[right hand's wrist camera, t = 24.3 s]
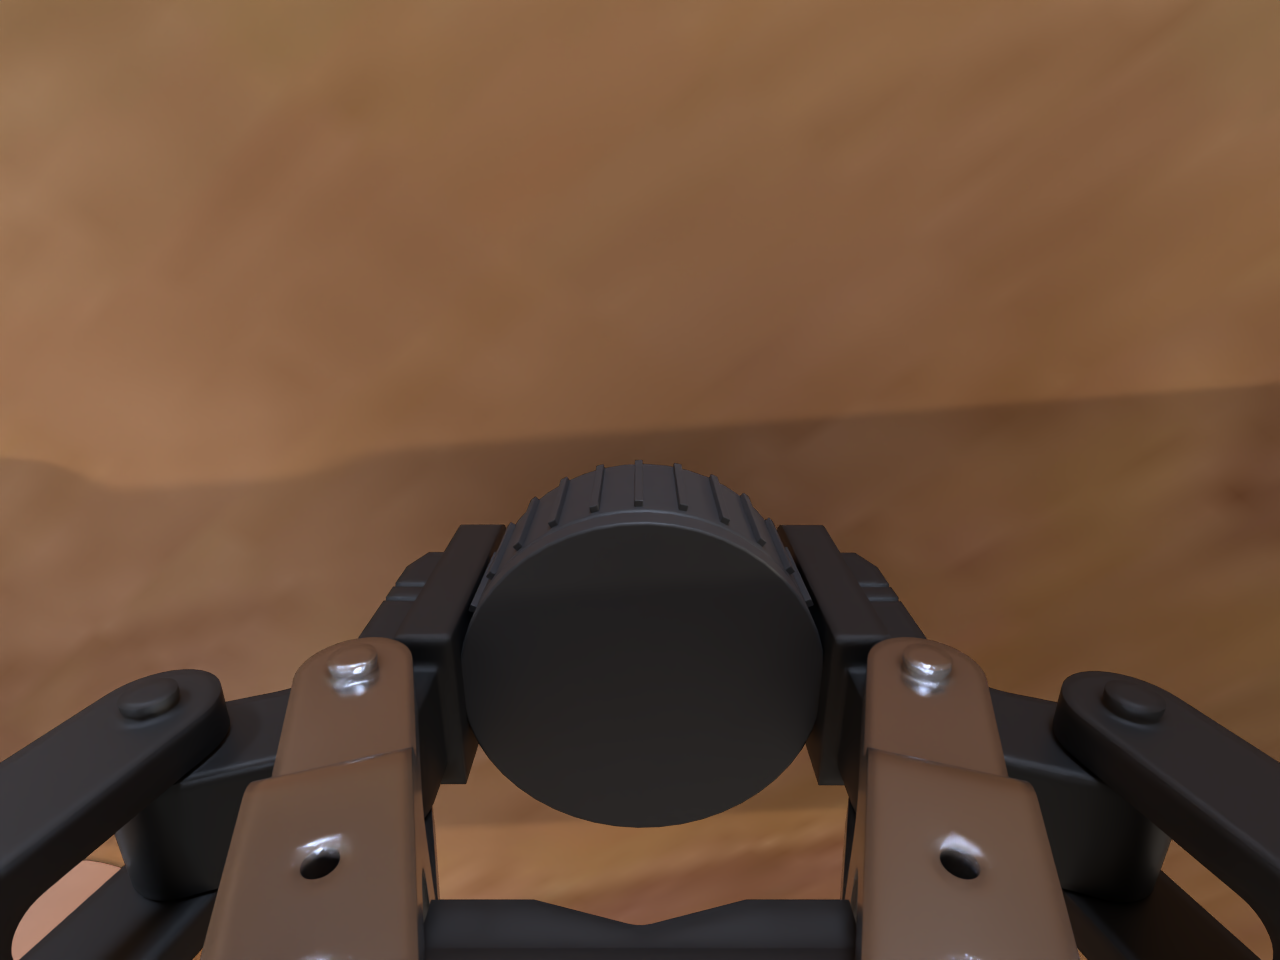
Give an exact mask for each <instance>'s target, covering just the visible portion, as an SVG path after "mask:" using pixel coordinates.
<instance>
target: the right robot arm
mask: <svg viewBox="0 0 1280 960" xmlns="http://www.w3.org/2000/svg"><path fill="white" fill-rule="evenodd" d="M505 531H506V527H505V525H460V527H459V528H458V530H457V531H456V533H455V535H454V536H453V538H452V540H451V541H450V543H449V545H448V546H447V548H446V550H445V551H444V552H429V553H427V554H426V555H424V556H422V557H421V558H419V559H418V560H416V561H415V562H413V563H412V564H410V565H409V566H407V567H406V569H405V570H404V572H403V573H402V575H401V576H400V577H399V579H398V580H397V582H396V586H395V587H393V588H392V589H391V591H390V592H389V594H388V595H387V597H386V601H383V602H382V604H381V605H380V607H379V608H378V610H377V611H376V613H375V614H374V616H373V617H372V619H371V620H370V621H369V623H368V624H367V626H366V627H365V629H364V630H363V632H362V633H361V635H360V636H359V638H358V639H353V640H348V641H344V642H341V643H338V644H335V645H332V646H330V647H327V648H325V649H323V650H321V651H319V652H318V653H316V654H315V655H313V656H311V657H310V658H309V659H308V660H306V661H305V662H304V663H303V664H302V665H301V666H300V667H299V669H298V670H297V672H296V673H295V676H294V678H293V682H292V687H291V688H290V689H286V690H282V691H278V692H273V693H268V694H263V695H258V696H253V697H248V698H243V699H238V700H233V701H228V702H225V699H224V695H223V691H222V687H221V683H220V681H219V679H218V678H217V677H216V676H215V675H213V674H211V673H209V672H206V671H202V670H194V669H183V670H173V671H167V672H162V673H158V674H154V675H150V676H147V677H144V678H141V679H138V680H136V681H133V682H131V683H128V684H126V685H124V686H122V687H120V688H118V689H116V690H114V691H112V692H111V693H109V694H107V695H105V696H104V697H102V698H101V699H99V700H98V701H96V702H95V703H93V704H91V705H90V706H88V707H87V708H85V709H84V710H82V711H81V712H79V713H77V714H76V715H74V716H73V717H71V718H70V719H68V720H66V721H65V722H63V723H62V724H60V725H59V726H57V727H56V728H54V729H52V730H51V731H49V732H48V733H46V734H45V735H43V736H41V737H40V738H38V739H37V740H35V741H34V742H32V743H31V744H29V745H27V746H26V747H24V748H23V749H21V750H20V751H18V752H17V753H15V754H13V755H12V756H10V757H9V758H7V759H6V760H4V761H2V762H1V763H0V960H13V957H12V941H13V937H14V934H15V931H16V929H17V927H18V925H19V923H20V921H21V920H22V918H23V916H24V915H25V913H26V912H27V911H28V909H29V908H30V907H31V906H32V904H33V903H34V902H35V901H36V900H37V899H38V898H39V897H40V896H41V895H42V894H43V893H44V892H46V891H47V890H48V889H49V888H50V887H52V886H53V885H54V884H55V883H56V882H58V881H59V880H60V879H61V878H62V877H64V876H65V875H66V874H67V873H68V872H70V871H71V870H72V869H73V868H74V867H75V866H77V865H78V864H79V863H80V862H81V861H83V860H84V859H85V858H86V857H87V856H89V855H90V854H91V853H92V852H93V851H95V850H96V849H97V848H98V847H99V846H100V845H102V844H103V843H104V842H105V841H106V840H108V839H109V838H110V837H111V836H112V835H114V834H115V837H116V840H117V843H118V846H119V848H120V851H121V854H122V857H123V860H124V863H125V865H124V866H123V867H122V868H121V869H120V870H119V871H118V872H116V873H115V874H114V875H113V876H112V877H111V878H110V879H109V880H107V881H106V882H105V883H104V884H103V885H102V886H101V887H100V888H99V889H97V890H96V891H95V892H94V893H93V894H92V895H91V896H90V897H88V898H87V899H86V900H85V901H84V902H83V903H82V904H81V905H80V906H78V907H77V908H76V909H75V910H74V911H73V912H72V913H71V914H70V915H68V916H67V917H66V918H65V919H64V920H63V921H62V922H61V923H59V924H58V925H57V926H56V927H55V928H54V929H53V930H52V931H51V932H49V933H48V934H47V935H46V936H45V937H44V938H43V939H42V940H40V941H39V942H38V943H37V944H36V945H35V946H34V947H33V948H32V949H30V950H29V951H28V952H27V953H26V954H25V955H24V956H23V957H22V958H20V959H19V960H192V959H193V958H194V957H195V956H196V955H197V954H198V953H199V951H200V950H201V949H202V948H203V949H202V953H201V957H200V960H1080V957H1079V953H1078V949H1079V950H1080V951H1081V953H1082V954H1083V955H1084V956H1085V957H1086V958H1087V959H1088V960H1261V959H1260V958H1259V957H1257V956H1256V955H1255V954H1254V953H1253V952H1252V951H1251V950H1250V949H1248V948H1247V947H1246V946H1245V945H1244V944H1243V943H1242V942H1241V941H1240V940H1238V939H1237V938H1236V937H1235V936H1234V935H1233V934H1232V933H1231V932H1229V931H1228V930H1227V929H1226V928H1225V927H1224V926H1223V925H1222V924H1221V923H1219V922H1218V921H1217V920H1216V919H1215V918H1214V917H1213V916H1212V915H1211V914H1209V913H1208V912H1207V911H1206V910H1205V909H1204V908H1203V907H1202V906H1200V905H1199V904H1198V903H1197V902H1196V901H1195V900H1194V899H1193V898H1192V897H1190V896H1189V895H1188V894H1187V893H1186V892H1185V891H1184V890H1183V889H1181V888H1180V887H1179V886H1178V885H1177V884H1176V883H1175V882H1174V881H1173V880H1171V879H1170V878H1169V877H1168V876H1167V875H1166V874H1165V873H1164V872H1162V871H1161V867H1162V864H1163V861H1164V859H1165V856H1166V853H1167V850H1168V847H1169V845H1170V842H1171V839H1172V840H1174V841H1175V842H1176V843H1177V844H1178V845H1180V846H1181V847H1182V848H1183V849H1184V850H1186V851H1187V852H1188V853H1189V854H1190V855H1191V856H1193V857H1194V858H1195V859H1196V860H1197V861H1199V862H1200V863H1201V864H1202V865H1203V866H1205V867H1206V868H1207V869H1208V870H1209V871H1211V872H1212V873H1213V874H1214V875H1215V876H1216V877H1218V878H1219V879H1220V880H1221V881H1222V882H1224V883H1225V884H1226V885H1227V886H1228V887H1230V888H1231V889H1232V890H1233V891H1234V892H1236V893H1237V894H1238V895H1239V896H1240V897H1241V898H1242V899H1244V900H1245V901H1246V902H1247V903H1248V904H1249V905H1250V907H1251V908H1252V909H1253V910H1254V911H1255V912H1256V914H1257V915H1258V916H1259V918H1260V919H1261V921H1262V922H1263V924H1264V926H1265V927H1266V929H1267V932H1268V934H1269V936H1270V939H1271V942H1272V947H1273V960H1280V763H1279V762H1278V761H1276V760H1274V759H1273V758H1271V757H1270V756H1268V755H1267V754H1265V753H1263V752H1262V751H1260V750H1259V749H1257V748H1256V747H1254V746H1253V745H1251V744H1249V743H1248V742H1246V741H1245V740H1243V739H1242V738H1240V737H1239V736H1237V735H1235V734H1234V733H1232V732H1231V731H1229V730H1228V729H1226V728H1224V727H1223V726H1221V725H1220V724H1218V723H1217V722H1215V721H1214V720H1212V719H1210V718H1209V717H1207V716H1206V715H1204V714H1203V713H1201V712H1200V711H1198V710H1196V709H1195V708H1193V707H1192V706H1190V705H1189V704H1187V703H1185V702H1184V701H1182V700H1181V699H1179V698H1178V697H1176V696H1174V695H1173V694H1171V693H1169V692H1167V691H1165V690H1163V689H1161V688H1159V687H1157V686H1155V685H1152V684H1150V683H1148V682H1145V681H1142V680H1139V679H1136V678H1133V677H1129V676H1125V675H1122V674H1116V673H1111V672H1101V671H1087V672H1080V673H1076V674H1073V675H1071V676H1069V677H1068V678H1067V679H1066V680H1065V681H1064V682H1063V684H1062V687H1061V691H1060V695H1059V699H1058V702H1053V701H1048V700H1043V699H1038V698H1033V697H1028V696H1022V695H1017V694H1012V693H1008V692H1004V691H999V690H996V689H993V688H990V687H988V682H987V679H986V676H985V673H984V672H983V670H982V669H981V667H980V666H979V665H978V664H977V663H976V662H975V661H974V660H972V659H971V658H970V657H969V656H967V655H965V654H964V653H962V652H961V651H959V650H957V649H955V648H953V647H950V646H948V645H945V644H942V643H939V642H936V641H932V640H927V638H926V637H925V636H924V634H923V633H922V631H921V630H920V628H919V627H918V625H917V624H916V623H915V621H914V620H913V618H912V617H911V615H910V614H909V612H908V611H907V610H906V608H905V607H904V605H903V604H902V602H901V601H898V597H897V595H896V594H895V592H894V591H893V589H892V588H891V587H889V584H888V582H887V581H886V579H885V578H884V576H883V575H882V573H881V572H880V571H879V569H878V568H877V567H876V566H875V565H873V564H871V563H870V562H868V561H867V560H865V559H864V558H862V557H861V556H859V555H858V554H856V553H840V552H839V550H838V548H837V547H836V545H835V544H834V542H833V540H832V539H831V537H830V535H829V534H828V532H827V530H826V529H825V527H824V526H823V525H779V527H778V529H777V532H778V534H779V537H780V539H781V541H782V543H783V546H784V548H785V547H788V549H789V551H790V554H791V556H792V558H793V560H794V562H795V564H796V567H797V569H798V571H799V573H800V575H801V578H802V580H803V582H804V584H805V586H806V588H807V591H808V593H809V595H810V597H811V599H812V602H813V604H814V605H813V606H810V607H808V609H809V611H810V614H811V616H812V618H813V621H814V623H815V625H816V627H817V630H818V632H819V636H820V640H821V644H822V648H823V669H822V678H821V687H820V696H819V706H818V714H817V720H816V722H815V725H814V728H813V730H812V732H811V734H810V736H809V738H808V739H807V741H806V743H805V744H806V747H807V750H808V753H809V756H810V759H811V763H812V766H813V769H814V772H815V775H816V778H817V781H818V785H845V788H846V790H847V793H848V796H849V799H848V806H847V814H846V821H845V834H844V848H843V863H842V878H841V892H840V900H743V901H739V902H735V903H731V904H727V905H723V906H719V907H716V908H712V909H708V910H704V911H700V912H696V913H692V914H688V915H684V916H680V917H677V918H673V919H669V920H665V921H661V922H657V923H653V924H648V925H632V924H627V923H623V922H619V921H615V920H611V919H607V918H603V917H600V916H596V915H592V914H588V913H584V912H580V911H576V910H572V909H568V908H564V907H561V906H557V905H553V904H549V903H545V902H541V901H537V900H440V892H439V878H438V863H437V848H436V834H435V821H434V814H433V807H432V805H433V803H434V801H435V798H436V795H437V792H438V789H439V787H440V784H466V783H467V779H468V776H469V773H470V770H471V766H472V763H473V760H474V757H475V754H476V750H477V747H478V744H479V743H478V741H477V739H476V737H475V735H474V733H473V731H472V729H471V727H470V725H469V722H468V719H467V711H466V703H465V693H464V684H463V675H462V664H461V651H462V645H463V641H464V638H465V635H466V632H467V629H468V626H469V623H470V621H471V619H472V616H473V614H474V613H473V612H470V611H469V608H470V605H471V603H472V601H473V598H474V596H475V594H476V592H477V589H478V587H479V585H480V583H481V580H482V578H483V576H484V574H485V571H486V569H487V567H488V565H489V562H490V560H491V558H492V555H493V553H494V552H497V550H498V547H499V545H500V543H501V541H502V538H503V536H504V534H505ZM1077 948H1078V949H1077Z"/></svg>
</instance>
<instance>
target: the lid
mask: <svg viewBox="0 0 1280 960" xmlns="http://www.w3.org/2000/svg"><path fill="white" fill-rule="evenodd" d="M813 605H814V604H813V602H812V599H811V597H810V595H809V593H808V591H807V588H806V586H805V584H804V582H803V580H802V578H801V575H800V573H799V571H798V569H797V567H796V564H795V562H794V560H793V558H792V556H791V554H790V551H789V549H788V547H785V548H784V546H783V543H782V541H781V539H780V537H779V534H778V532H777V530H776V528H775V526H774V523H773V522H772V520H771V519H770V518H768V519H766V520H764V519H763V518H762V516H761V515H760V514H759V513H758V512H757V510H755V509H754V508H753V507H752V504H751V502H750V499H749V497H748V496H747V495H746V494H744V493H743V494H742V495H741V496H739V495H738V494H736V493H735V492H733V491H732V490H730V489H729V488H727V487H726V486H724V485H722V484H720V483H719V481H718V478H717V477H716V476H714V475H712V474H711V475H710V477H709V478H708V477H706V476H703V475H700V474H697V473H694V472H691V471H689V470H684V469H682V466H681V464H677V463H674V466H673V467H670V466H663V465H652V464H643V461H642V460H635V464H633V465H621V466H614V467H608V468H604V465H603V464H602V465H598V466H597V467H596V471H593V472H589V473H586V474H583V475H581V476H579V477H576V478H574V479H572V480H569V479H568V477H565V478H563V479H561V481H560V485H559V486H558V487H557V488H555V489H553V490H552V491H550V492H548V493H547V494H546V495H545V496H543V497H542V498H541V499H540V500H539V499H538V498H537V497H534V498H533V499H532V500H531V501H530V504H529V506H528V509H527V511H526V513H525V514H524V515H523V516H522V517H521V518H520V519H519V520H518V522H517V523H516V525H515V524H513V523H512V522H511V523H510V524H509V525H508V527H507V529H506V531H505V534H504V536H503V538H502V541H501V543H500V545H499V547H498V550H497V552H494V553H493V555H492V558H491V560H490V562H489V565H488V567H487V569H486V571H485V574H484V576H483V578H482V580H481V583H480V585H479V587H478V589H477V592H476V594H475V596H474V598H473V601H472V603H471V605H470V608H469V611H470V612H473V613H474V614H473V616H472V619H471V621H470V623H469V626H468V629H467V632H466V635H465V638H464V641H463V645H462V651H461V664H462V675H463V684H464V693H465V703H466V711H467V719H468V722H469V725H470V727H471V729H472V731H473V733H474V735H475V737H476V739H477V741H478V743H479V745H480V746H481V748H482V749H483V750H484V752H485V753H486V755H487V756H488V758H489V759H490V760H491V761H492V763H493V764H494V765H495V766H496V767H497V768H498V769H499V770H500V771H501V773H502V774H503V775H504V776H506V777H507V778H508V779H509V780H510V781H511V782H513V783H514V784H515V785H516V786H517V787H518V788H520V789H521V790H523V791H524V792H526V793H527V794H529V795H530V796H532V797H533V798H534V799H536V800H538V801H540V802H542V803H544V804H546V805H548V806H549V807H551V808H553V809H555V810H558V811H561V812H563V813H566V814H568V815H571V816H573V817H576V818H580V819H584V820H587V821H591V822H595V823H600V824H606V825H612V826H620V827H635V828H644V827H664V826H671V825H679V824H684V823H688V822H692V821H697V820H701V819H704V818H707V817H710V816H713V815H716V814H719V813H721V812H724V811H726V810H728V809H730V808H732V807H734V806H736V805H739V804H741V803H743V802H744V801H746V800H747V799H749V798H751V797H752V796H754V795H756V794H757V793H759V792H760V791H761V790H763V789H764V788H765V787H767V786H768V785H769V784H770V783H772V782H773V781H774V780H775V779H776V778H777V777H778V776H779V775H780V774H781V773H782V772H783V771H784V770H785V769H786V768H787V767H788V766H789V765H790V764H791V763H792V761H793V760H794V759H795V758H796V756H797V755H798V754H799V752H800V751H801V750H802V748H803V746H804V745H805V743H806V741H807V739H808V738H809V736H810V734H811V732H812V730H813V728H814V725H815V722H816V720H817V714H818V706H819V696H820V687H821V678H822V669H823V648H822V644H821V640H820V636H819V632H818V630H817V627H816V625H815V623H814V621H813V618H812V616H811V614H810V611H809V609H808V607H810V606H813Z"/></svg>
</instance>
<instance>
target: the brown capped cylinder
mask: <svg viewBox="0 0 1280 960" xmlns="http://www.w3.org/2000/svg"><path fill="white" fill-rule="evenodd" d="M120 869H121V868H120V867H117V866H114V865H111V864H106V863H102V862H96V861H89V860H83V861H81V862H80V863H79V864H78V865H77V866H75V867H74V868H73V869H72V870H71V871H70V872H68V873H67V874H66V875H65V876H64V877H62V878H61V879H60V880H59V881H58V882H56V883H55V884H54V885H53V886H52V887H50V888H49V889H48V890H47V891H46V892H44V893H43V894H42V895H41V896H40V897H39V898H38V899H37V900H36V901H35V902H34V903H33V904H32V906H31V907H30V908H29V909H28V911H27V912H26V913H25V915H24V916H23V918H22V920H21V921H20V923H19V925H18V927H17V929H16V931H15V934H14V937H13V941H12V957H13V960H19V959H20V958H22V957H23V956H24V955H25V954H26V953H27V952H28V951H29V950H30V949H32V948H33V947H34V946H35V945H36V944H37V943H38V942H39V941H40V940H42V939H43V938H44V937H45V936H46V935H47V934H48V933H49V932H51V931H52V930H53V929H54V928H55V927H56V926H57V925H58V924H59V923H61V922H62V921H63V920H64V919H65V918H66V917H67V916H68V915H70V914H71V913H72V912H73V911H74V910H75V909H76V908H77V907H78V906H80V905H81V904H82V903H83V902H84V901H85V900H86V899H87V898H88V897H90V896H91V895H92V894H93V893H94V892H95V891H96V890H97V889H99V888H100V887H101V886H102V885H103V884H104V883H105V882H106V881H107V880H109V879H110V878H111V877H112V876H113V875H114V874H115V873H116V872H118V871H119V870H120Z"/></svg>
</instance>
